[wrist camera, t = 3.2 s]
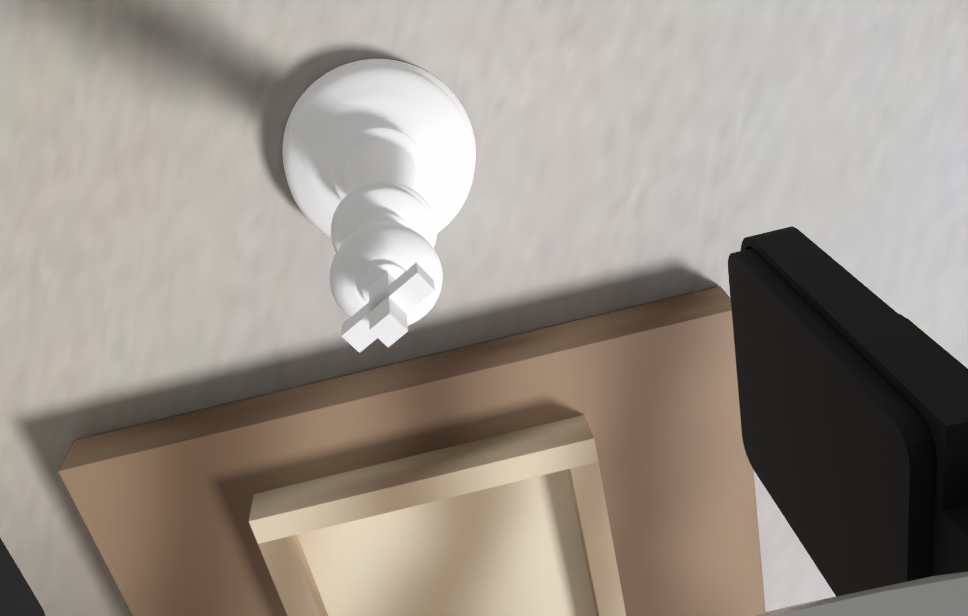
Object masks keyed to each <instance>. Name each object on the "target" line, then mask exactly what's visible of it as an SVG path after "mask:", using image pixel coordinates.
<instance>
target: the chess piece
mask: <svg viewBox="0 0 968 616" xmlns="http://www.w3.org/2000/svg"><path fill="white" fill-rule="evenodd" d="M282 154H283V165H284V170H285V174H286V179H287V182H288V186H289V189H290V191H291V194H292V196H293V198H294V200H295V202H296V203H297V205H298V207H299V208H300V210H301V211H302V212H303V214H304V215H305V216H306V217H307V218H308V220H309V221H310V222H311V223H312V224H313V225H314V226H315V227H317V228H318V229H319V230H320V231H322V232H323V233H324V234H326V235H327V236H329V237H331V239H332V243H333V246H334V249H335V251H336V254H335V256H334V258H333V261H332V264H331V269H330V286H331V291H332V294H333V296H334V299H335V301H336V302H337V304H338V306H339V307H340V308H341V310H342V311H343V312H344V313H345V314H346V315H347V316H349V317H350V318H349V319H348V320H347V321H346V322H344V323H343V324H342V334H341V336H342V337H343V338H344V339H345V340H346V341H347V342H348V343H349V344H350V345H351V346H353V347H354V348H355V349H356V350H357V351H358V352H359V353H360V352H361V351H363V350H364V349H365V348H366V347H367V346H369V345H370V344H371V343H372V342H373V341H375V340H376V339H377V338H378V339H379V340H380V341H381V342H383V343H384V344H385V345H386V346H387V347H390V346H391V345H392V344H393V343H394V342H396V341H397V340H398V339H399V338H401V337H402V336H403V335H404V334H405V333H407V332H408V325H411V324H413V323H414V322H416V321H418V320H419V319H421V318H422V317H424V316H425V315H426V314H427V313H428V312H429V311H430V310H431V308H432V307H433V306H434V304H435V303H436V301H437V299H438V297H439V294H440V291H441V287H442V279H443V277H442V267H441V263H440V260H439V258H438V256H437V254H436V252H435V250H434V246H435V243H436V237H437V233H438V232H440V231H441V230H442V229H443V228H444V227H446V226H447V225H448V224H449V223H450V222H451V221H452V219H453V218H454V217H455V216H456V215H457V213H458V212H459V210H460V209H461V207H462V206H463V204H464V202H465V200H466V198H467V196H468V194H469V191H470V188H471V185H472V181H473V176H474V170H475V161H476V147H475V139H474V134H473V130H472V127H471V124H470V121H469V118H468V116H467V114H466V112H465V110H464V108H463V106H462V105H461V103H460V102H459V100H458V99H457V98H456V96H455V95H454V94H453V93H452V92H451V90H450V89H449V88H448V87H447V86H446V85H444V84H443V83H442V82H441V81H440V80H439V79H437V78H436V77H434V76H433V75H431V74H430V73H428V72H426V71H425V70H423V69H421V68H418V67H416V66H414V65H411V64H408V63H405V62H401V61H396V60H390V59H365V60H359V61H354V62H351V63H347V64H344V65H342V66H339V67H337V68H335V69H333V70H331V71H329V72H327V73H326V74H324V75H323V76H321V77H320V78H319V79H317V80H316V81H315V82H314V83H313V84H311V85H310V86H309V87H308V88H307V90H306V91H305V92H304V93H303V94H302V95H301V97H300V98H299V100H298V101H297V102H296V104H295V106H294V108H293V110H292V112H291V114H290V116H289V119H288V121H287V124H286V128H285V132H284V137H283V148H282Z"/></svg>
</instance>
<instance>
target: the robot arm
mask: <svg viewBox="0 0 968 616" xmlns="http://www.w3.org/2000/svg"><path fill="white" fill-rule="evenodd" d="M728 272H729V284H730V296H731V309H732V321H733V333H734V345H735V357H736V369H737V381H738V393H739V405H740V417H741V430H742V439H743V444H744V448H745V452H746V455H747V457H748V460H749V462H750V464H751V466H752V468H753V469H754V471H755V472H756V474H757V475H758V477H759V479H760V480H761V482H762V483H763V485H764V486H765V488H766V489H767V491H768V492H769V494H770V495H771V497H772V498H773V500H774V502H775V503H776V505H777V506H778V508H779V509H780V511H781V512H782V514H783V515H784V517H785V518H786V520H787V521H788V523H789V525H790V526H791V528H792V529H793V531H794V532H795V534H796V535H797V537H798V538H799V540H800V541H801V543H802V544H803V546H804V548H805V549H806V551H807V552H808V554H809V555H810V557H811V558H812V560H813V561H814V563H815V564H816V566H817V567H818V569H819V571H820V572H821V574H822V575H823V577H824V578H825V580H826V581H827V583H828V584H829V586H830V587H831V589H832V590H833V592H834V594H835V595H836V597H832V598H828V599H823V600H818V601H814V602H809V603H804V604H799V605H795V606H790V607H786V608H782V609H778V610H774V611H770V612H766V613H762V614H758V615H754V616H968V369H967V368H966V367H965V366H964V365H962V364H961V363H960V362H959V361H958V360H956V359H955V358H954V357H953V356H952V355H950V354H949V353H948V352H947V351H946V350H944V349H943V348H942V347H941V346H940V345H938V344H937V343H936V342H935V341H934V340H932V339H931V338H930V337H929V336H928V335H926V334H925V333H924V332H923V331H922V330H920V329H919V328H918V327H917V326H916V325H915V324H913V323H912V322H911V321H910V320H909V319H907V318H905V317H903V316H902V315H900V314H898V313H897V312H895V311H894V310H893V309H892V308H891V307H889V306H888V305H887V304H886V303H885V302H883V301H882V300H881V299H880V298H879V297H877V296H876V295H875V294H874V293H873V292H872V291H870V290H869V289H868V288H867V287H866V286H864V285H863V284H862V283H861V282H860V281H858V280H857V279H856V278H855V277H854V276H853V275H851V274H850V273H849V272H848V271H847V270H845V269H844V268H843V267H842V266H841V265H839V264H838V263H837V262H836V261H835V260H833V259H832V258H831V257H830V256H829V255H828V254H826V253H825V252H824V251H823V250H822V249H820V248H819V247H818V246H817V245H816V244H814V243H813V242H812V241H811V240H810V239H809V238H807V237H806V236H805V235H804V234H803V233H801V232H800V231H799V230H798V229H796V228H794V227H788V228H784V229H780V230H775V231H771V232H767V233H763V234H759V235H755V236H751V237H746V238H744V240H743V241H742V246H741V251H740V252H735V253H731V254H730V256H729V259H728ZM0 616H45V613H44V611H43V609H42V607H41V605H40V604H39V602H38V600H37V599H36V597H35V595H34V594H33V592H32V590H31V589H30V587H29V585H28V583H27V582H26V580H25V578H24V577H23V575H22V573H21V572H20V570H19V568H18V567H17V565H16V563H15V562H14V560H13V558H12V557H11V555H10V553H9V552H8V550H7V548H6V547H5V545H4V543H3V542H2V540H1V538H0Z"/></svg>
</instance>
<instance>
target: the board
mask: <svg viewBox="0 0 968 616" xmlns="http://www.w3.org/2000/svg"><path fill="white" fill-rule="evenodd" d="M58 472H59V474H60V476H61V478H62V480H63V482H64V484H65V486H66V488H67V490H68V491H69V493H70V495H71V497H72V499H73V501H74V503H75V505H76V507H77V509H78V511H79V513H80V515H81V517H82V519H83V521H84V522H85V524H86V526H87V528H88V530H89V532H90V534H91V536H92V538H93V540H94V542H95V544H96V546H97V548H98V550H99V552H100V553H101V555H102V557H103V559H104V561H105V563H106V565H107V567H108V569H109V571H110V573H111V575H112V577H113V579H114V581H115V583H116V584H117V586H118V588H119V590H120V592H121V594H122V596H123V598H124V600H125V602H126V604H127V606H128V608H129V610H130V612H131V614H132V615H133V616H754V615H758V614H762V613H766V612H765V601H764V589H763V577H762V566H761V554H760V543H759V531H758V519H757V508H756V496H755V484H754V473H753V468H752V466H751V464H750V462H749V460H748V457H747V455H746V452H745V448H744V444H743V439H742V430H741V417H740V405H739V393H738V381H737V369H736V357H735V345H734V333H733V321H732V309H731V298H730V297H729V296H728V295H727V294H726V292H725V291H724V290H723V289H722V288H721V287H720V286H719V287H715V288H710V289H706V290H702V291H698V292H694V293H689V294H685V295H681V296H677V297H673V298H668V299H664V300H660V301H656V302H652V303H648V304H643V305H639V306H635V307H631V308H627V309H622V310H618V311H614V312H610V313H606V314H601V315H597V316H593V317H589V318H585V319H580V320H576V321H572V322H568V323H564V324H559V325H555V326H551V327H547V328H543V329H539V330H534V331H530V332H526V333H522V334H518V335H513V336H509V337H505V338H501V339H497V340H492V341H488V342H484V343H480V344H476V345H471V346H467V347H463V348H459V349H455V350H450V351H446V352H442V353H438V354H434V355H430V356H425V357H421V358H417V359H413V360H409V361H404V362H400V363H396V364H392V365H388V366H383V367H379V368H375V369H371V370H367V371H362V372H358V373H354V374H350V375H346V376H342V377H337V378H333V379H329V380H325V381H321V382H316V383H312V384H308V385H304V386H300V387H295V388H291V389H287V390H283V391H279V392H274V393H270V394H266V395H262V396H258V397H253V398H249V399H245V400H241V401H237V402H233V403H228V404H224V405H220V406H216V407H212V408H207V409H203V410H199V411H195V412H191V413H186V414H182V415H178V416H174V417H170V418H165V419H161V420H157V421H153V422H149V423H144V424H140V425H136V426H132V427H128V428H124V429H119V430H115V431H111V432H107V433H103V434H98V435H94V436H90V437H86V438H82V439H77V440H74V442H73V444H72V445H71V447H70V449H69V451H68V453H67V455H66V457H65V459H64V461H63V463H62V465H61V467H60V469H59V471H58Z"/></svg>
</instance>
